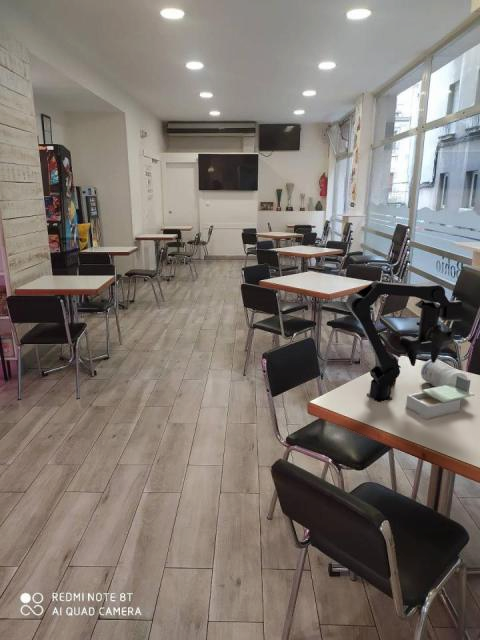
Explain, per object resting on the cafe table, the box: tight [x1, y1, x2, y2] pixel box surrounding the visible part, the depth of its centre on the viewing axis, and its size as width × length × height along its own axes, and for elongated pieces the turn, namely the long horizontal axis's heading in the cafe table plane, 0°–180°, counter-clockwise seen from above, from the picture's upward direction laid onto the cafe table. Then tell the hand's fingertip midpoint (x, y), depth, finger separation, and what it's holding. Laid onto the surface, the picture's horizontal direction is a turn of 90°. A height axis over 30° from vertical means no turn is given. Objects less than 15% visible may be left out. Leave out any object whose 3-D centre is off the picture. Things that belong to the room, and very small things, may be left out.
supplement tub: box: [420, 358, 469, 388], centre depth 161 cm, size 10×10×15 cm
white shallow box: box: [405, 391, 462, 420], centre depth 145 cm, size 14×9×4 cm, turn 113°
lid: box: [421, 376, 475, 402], centre depth 147 cm, size 14×9×5 cm, turn 113°
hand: (423, 364), depth 152 cm, fingers open, 9 cm apart
